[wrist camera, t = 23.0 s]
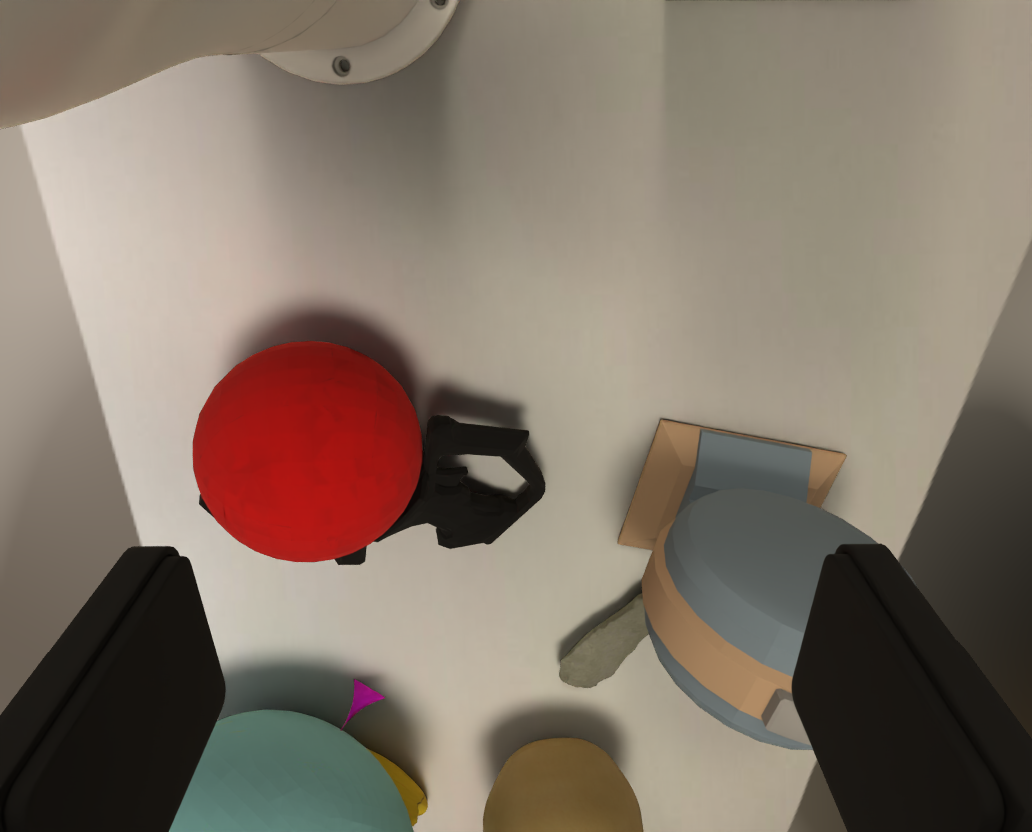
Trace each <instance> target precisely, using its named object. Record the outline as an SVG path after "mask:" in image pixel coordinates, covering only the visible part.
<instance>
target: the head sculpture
mask: <svg viewBox="0 0 1032 832" xmlns="http://www.w3.org/2000/svg"><path fill="white" fill-rule="evenodd" d="M483 832H643V825H642V818H641V812H640V807H639V803H638V801H637V798H636V796H635V793H634V791H633V789H632V787H631V786H630V784H629V782H628V781H627V779H626V778H625V776H624V775H623V773H622V772H621V770H620V769H619V768H618V766H617V765H616V764H615V762H614V761H613V760H612V758H611V757H610V756H609V755H608V754H607V753H606V752H605V751H604V750H602V749H601V748H599V747H598V746H596V745H594V744H593V743H591V742H588V741H586V740H583V739H579V738H551V739H543V740H538V741H534V742H531V743H529V744H527V745H525V746H523V747H521V748H520V749H519V750H517V751H516V752H515V753H514V754H513V755H511V756H510V758H509V759H508V760H507V761H506V763H505V764H504V766H503V768H502V769H501V771H500V773H499V775H498V777H497V779H496V781H495V783H494V785H493V787H492V789H491V792H490V794H489V797H488V799H487V802H486V806H485V810H484V816H483Z"/></svg>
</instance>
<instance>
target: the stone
mask: <svg viewBox="0 0 1032 832" xmlns="http://www.w3.org/2000/svg"><path fill="white" fill-rule="evenodd" d="M648 634H649V632H648V630H647V627H646V624H645V610H644V604H643V595H642V594H640V595H638V596H636V597H635V598H634V599H633V600H632V601H631V602H630V603H629V604H627V605H626V606H625V607H623V608H622V609H621V610H619V611H618V612H617V613H615V614H614V615H612V616H610V617H609V618H608V619H607V620H605V621H604V622H603V623H601V624H600V625H598V626H597V627H595V628H594V629H593V630H591V631H590V632H589V633H588V634H587V635H586V636H585V637H583V638H582V639H581V640H580V641H579V642H578V643H577V644H576V645H575V646H574V648H573V649H572V650H570V652H569V653H568V654H567V655H566V656H565V657H563V658H562V659H561V664H560V672H559V676H560V679H561V680H562V681H563V682H565V683H567V684H569V685H572V686H574V687H583V688H591V687H593V686H596V685H597V683H598V682H600V681H601V680H603V679H606V678H608V677H610V676H612V675H613V674H614V673H615V671H616V670H617V668H618V667H619V666H620V664H621V663H622V661H623V660H624V659H625V658H626V657H627V656H628V655H629V654H630V653H632V651H633V650H635V648H636V646H637V645H638V643H639V642H640V641H641V640H642V639H643V638H644V637H646V636H647V635H648Z"/></svg>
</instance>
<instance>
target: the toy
mask: <svg viewBox="0 0 1032 832" xmlns="http://www.w3.org/2000/svg"><path fill="white" fill-rule="evenodd" d="M384 698H385V697H384V696H382V695H381V694H379V693H378V692H376V691H374V690H372V689H371V688H369V687H367V686H366V685H364V684H362V683H361V682H359V681H357V680H355V679H354V697H353V703H352V707H351V710H350V712H349V715H348V717H347V720H346V722H345V724H346V723H347V722H348V721H349V720H350V719H351V718H352V717H353V716H354V715H355V714H356V713H358V712H359V711H360V710H361V709H363V708H364V707H366V706H368V705H370V704H372V703H374V702H376V701H379V700H381V699H384ZM345 724H344V726H345ZM344 726H343V727H344ZM343 727H342V728H341V729H339V728H337V727H336V726H334V725H332V724H330V723H328V722H325V721H323V720H321V719H318V718H315V717H312V716H309V715H306V714H302V713H298V712H292V711H282V710H258V711H250V712H244V713H239V714H236V715H232V716H229V717H226V718H223V719H221V720H219V721H217V722H216V724H215V726H214V729H213V731H212V733H211V736H210V738H209V740H208V742H207V745H206V747H205V749H204V752H203V754H202V756H201V759H200V761H199V763H198V766H197V768H196V770H195V772H194V775H193V777H192V779H191V782H190V784H189V786H188V789H187V791H186V793H185V796H184V798H183V800H182V802H181V805H180V807H179V809H178V812H177V814H176V816H175V819H174V821H173V823H172V826H171V828H170V830H169V832H414V831H413V828H412V826H414V824H416V823H417V819H418V816H419V815H422V814H424V813H425V812H426V810H427V807H428V803H427V799H426V797H425V795H424V793H423V792H422V790H421V789H420V788H419V786H418V785H417V784H416V783H415V782H414V781H413V780H412V779H411V778H410V777H409V776H408V775H407V774H406V773H405V772H404V771H403V770H402V769H400V768H399V767H398V766H397V765H395V764H394V763H392V762H391V761H389V760H388V759H386V758H385V757H383V756H381V755H379V754H377V753H375V752H373V751H371V750H369V749H367V748H365V747H364V746H363V745H362V744H360V743H359V742H358V741H357V740H356V739H354V738H353V737H352V736H350V735H349V734H347V733H346V732H344V731H342V729H343Z"/></svg>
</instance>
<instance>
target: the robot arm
mask: <svg viewBox="0 0 1032 832" xmlns="http://www.w3.org/2000/svg"><path fill="white" fill-rule="evenodd" d="M458 3H459V0H446V3H445V4H444V5H442V6H440V5H438V4H437V3H436V0H0V129H4V128H9V127H13V126H17V125H21V124H25V123H28V122H32V121H36V120H40V119H44V118H47V117H50V116H53V115H55V114H58V113H61V112H63V111H66V110H69V109H72V108H74V107H77V106H80V105H82V104H85V103H88V102H91V101H93V100H96V99H99V98H101V97H103V96H106V95H108V94H110V93H113V92H115V91H117V90H119V89H122V88H124V87H126V86H129V85H131V84H133V83H136V82H138V81H140V80H142V79H145V78H147V77H149V76H152V75H154V74H156V73H159V72H161V71H163V70H165V69H168V68H170V67H173V66H175V65H178V64H181V63H184V62H186V61H189V60H192V59H195V58H199V57H204V56H213V55H222V54H223V55H240V54H256V53H258V54H259V55H261V56H262V57H263V58H265V59H266V60H268V61H270V62H271V63H273V64H275V65H276V66H278V67H280V68H282V69H283V70H285V71H287V72H289V73H292V74H295V75H297V76H300V77H303V78H306V79H308V80H311V81H316V82H323V83H329V84H336V85H343V84H361V83H366V82H371V81H375V80H378V79H381V78H384V77H387V76H389V75H392V74H394V73H396V72H399V71H401V70H402V69H404V68H405V67H406V66H408V65H409V64H411V63H412V62H414V61H415V60H417V59H418V58H420V57H421V56H422V55H423V54H424V53H425V52H426V51H427V50H428V49H429V48H430V47H431V46H432V45H433V44H434V43H435V42H436V40H437V39H438V38H439V37H440V35H441V34H442V32H443V31H444V29H445V28H446V26H447V24H448V23H449V21H450V20H451V18H452V17H453V15H454V12H455V10H456V8H457V5H458ZM342 60H346V61H347V62H348V63H349V66H350V67H349V70H348V71H347V72H345V71H343V70H342V69H341V67H340V63H341V61H342ZM791 690H792V697H793V702H794V705H795V708H796V710H797V713H798V715H799V717H800V720H801V722H802V724H803V727H804V729H805V732H806V734H807V736H808V739H809V741H810V743H811V746H812V748H813V751H814V753H815V755H816V758H817V760H818V762H819V765H820V767H821V769H822V771H823V774H824V777H825V779H826V781H827V784H828V786H829V789H830V791H831V793H832V795H833V798H834V800H835V803H836V805H837V807H838V810H839V812H840V815H841V817H842V819H843V822H844V824H845V826H846V829H847V831H848V832H1032V739H1031V737H1030V736H1029V734H1028V733H1027V732H1026V730H1025V729H1024V728H1023V726H1022V725H1021V724H1020V722H1019V721H1018V720H1017V718H1016V717H1015V716H1014V714H1013V713H1012V712H1011V710H1010V709H1009V708H1008V706H1007V705H1006V703H1005V702H1004V701H1003V699H1002V698H1001V697H1000V696H999V694H998V693H997V691H996V690H995V689H994V687H993V686H992V684H991V683H990V682H989V681H988V679H987V678H986V676H985V675H984V674H983V673H982V671H981V670H980V668H979V667H978V666H977V664H976V663H975V662H974V660H973V659H972V657H971V656H970V655H969V653H968V652H967V651H966V650H965V648H964V647H963V646H962V645H961V644H960V643H959V642H958V641H957V640H955V638H954V637H953V635H952V634H951V633H950V631H949V630H948V629H947V627H946V626H945V625H944V623H943V622H942V621H941V619H940V618H939V616H938V615H937V614H936V613H935V611H934V610H933V608H932V607H931V605H930V604H929V603H928V601H927V600H926V599H925V597H924V596H923V595H922V593H921V592H920V591H919V589H918V588H917V586H916V585H915V584H914V582H913V581H912V580H911V578H910V577H909V576H908V574H907V573H906V571H905V570H904V569H903V567H902V566H901V565H900V563H899V562H898V561H897V559H896V558H895V557H894V555H893V554H892V552H891V551H890V550H889V549H888V548H887V547H886V546H885V545H882V544H842V545H840V546H839V547H838V548H837V549H836V552H835V554H828V555H827V556H826V557H825V559H824V562H823V565H822V569H821V573H820V576H819V580H818V584H817V588H816V591H815V595H814V599H813V603H812V607H811V610H810V614H809V618H808V622H807V625H806V629H805V633H804V637H803V640H802V644H801V648H800V652H799V655H798V659H797V663H796V667H795V670H794V674H793V678H792V686H791ZM225 692H226V688H225V681H224V677H223V674H222V670H221V667H220V663H219V660H218V656H217V653H216V649H215V646H214V642H213V639H212V635H211V632H210V628H209V625H208V621H207V618H206V614H205V611H204V607H203V604H202V600H201V597H200V593H199V590H198V586H197V583H196V579H195V576H194V572H193V569H192V565H191V563H190V560H189V559H188V558H187V557H184V556H180V555H179V553H178V551H177V550H176V549H175V548H174V547H170V546H138V547H131V548H128V549H127V550H126V551H125V552H124V553H123V555H122V556H121V557H120V559H119V560H118V561H117V563H116V564H115V565H114V567H113V568H112V569H111V571H110V572H109V573H108V574H107V576H106V577H105V579H104V580H103V581H102V583H101V584H100V585H99V586H98V588H97V589H96V590H95V592H94V593H93V594H92V596H91V597H90V598H89V600H88V601H87V602H86V604H85V605H84V606H83V607H82V609H81V610H80V611H79V613H78V614H77V615H76V617H75V618H74V619H73V621H72V622H71V623H70V625H69V626H68V627H67V629H66V630H65V631H64V633H63V634H62V635H61V637H60V638H59V639H58V641H57V642H56V643H55V645H54V646H53V647H52V649H51V650H50V651H49V652H48V653H47V654H46V656H45V657H44V658H43V660H42V661H41V662H40V664H39V665H38V666H37V668H36V669H35V670H34V671H33V673H32V674H31V675H30V677H29V678H28V679H27V681H26V682H25V683H24V685H23V686H22V687H21V689H20V690H19V691H18V693H17V694H16V695H15V697H14V698H13V699H12V700H11V702H10V703H9V705H8V706H7V707H6V708H5V710H4V711H3V712H2V714H1V715H0V832H169V830H170V828H171V826H172V823H173V821H174V819H175V816H176V814H177V812H178V809H179V807H180V805H181V802H182V800H183V798H184V796H185V793H186V791H187V789H188V786H189V784H190V782H191V779H192V777H193V775H194V772H195V770H196V768H197V766H198V763H199V761H200V759H201V756H202V754H203V752H204V749H205V747H206V745H207V742H208V740H209V738H210V736H211V733H212V731H213V729H214V726H215V724H216V722H217V719H218V717H219V715H220V713H221V710H222V707H223V704H224V700H225Z"/></svg>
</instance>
